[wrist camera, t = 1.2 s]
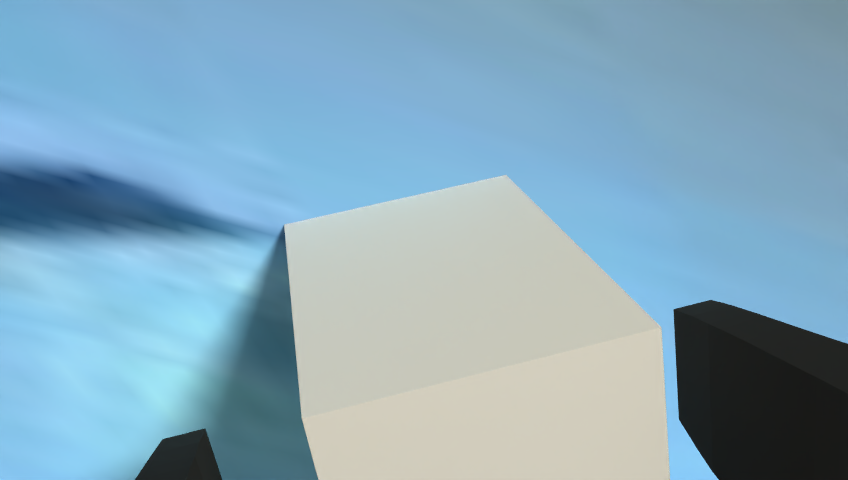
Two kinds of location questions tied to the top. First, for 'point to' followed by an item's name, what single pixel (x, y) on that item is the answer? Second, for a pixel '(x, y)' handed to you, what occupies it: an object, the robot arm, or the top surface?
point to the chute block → (469, 346)
